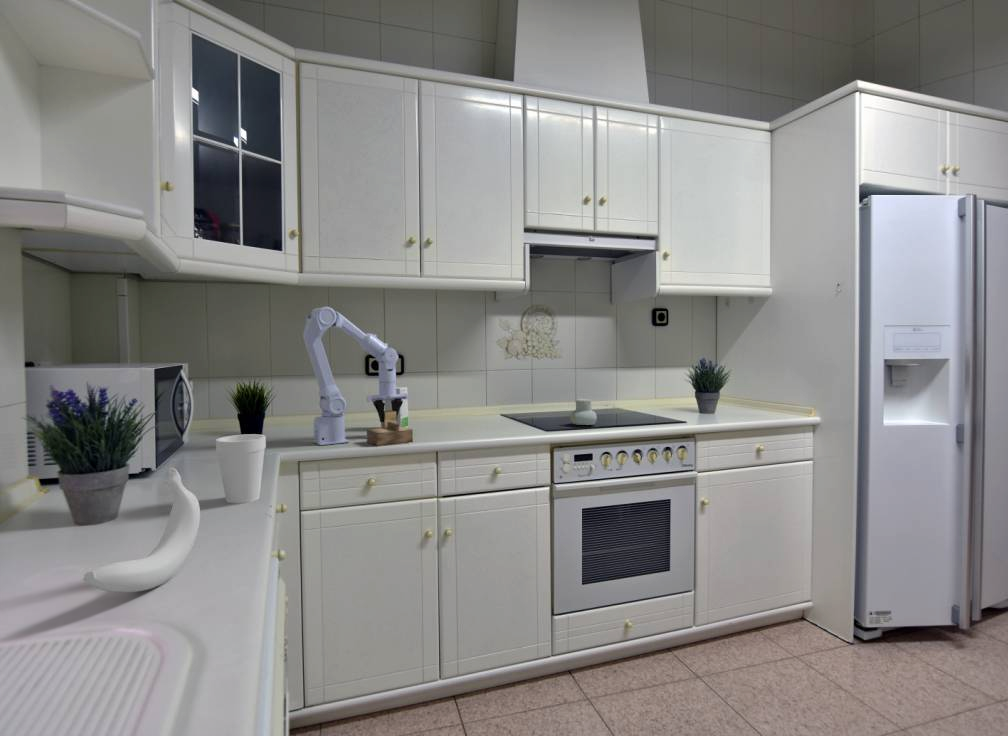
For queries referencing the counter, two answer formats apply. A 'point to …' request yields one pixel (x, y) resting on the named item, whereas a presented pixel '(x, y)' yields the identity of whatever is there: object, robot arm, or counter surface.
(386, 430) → the lid
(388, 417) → the brown patterned block
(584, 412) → the air freshener
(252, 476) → the foam cup
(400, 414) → the skincare box
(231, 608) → the counter surface
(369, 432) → the brown wooden block
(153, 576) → the banana
